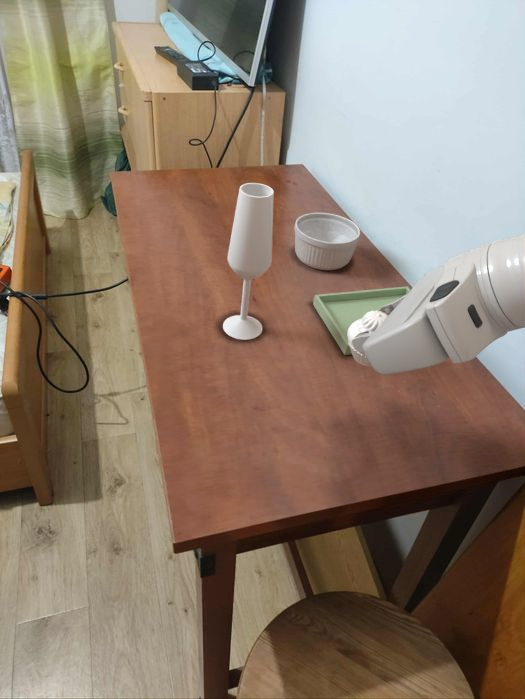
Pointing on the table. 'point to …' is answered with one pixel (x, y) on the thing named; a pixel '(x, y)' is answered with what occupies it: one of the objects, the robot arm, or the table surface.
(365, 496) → the table surface
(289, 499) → the table surface
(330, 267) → the ramekin
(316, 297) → the tray
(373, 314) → the muffin
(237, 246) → the champagne flute
